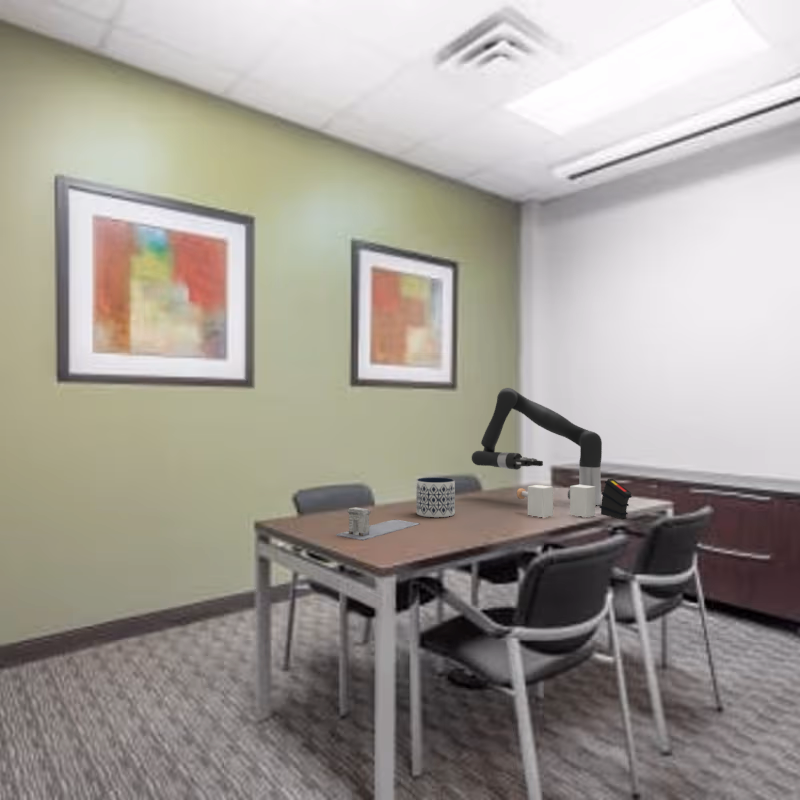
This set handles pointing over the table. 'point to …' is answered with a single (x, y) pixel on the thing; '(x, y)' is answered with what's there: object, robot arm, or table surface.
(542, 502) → the block
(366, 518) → the grey plate with block
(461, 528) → the table surface
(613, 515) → the magazine
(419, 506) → the planter
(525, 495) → the knob
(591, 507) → the block
